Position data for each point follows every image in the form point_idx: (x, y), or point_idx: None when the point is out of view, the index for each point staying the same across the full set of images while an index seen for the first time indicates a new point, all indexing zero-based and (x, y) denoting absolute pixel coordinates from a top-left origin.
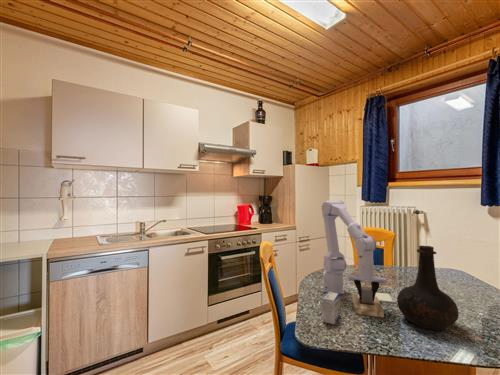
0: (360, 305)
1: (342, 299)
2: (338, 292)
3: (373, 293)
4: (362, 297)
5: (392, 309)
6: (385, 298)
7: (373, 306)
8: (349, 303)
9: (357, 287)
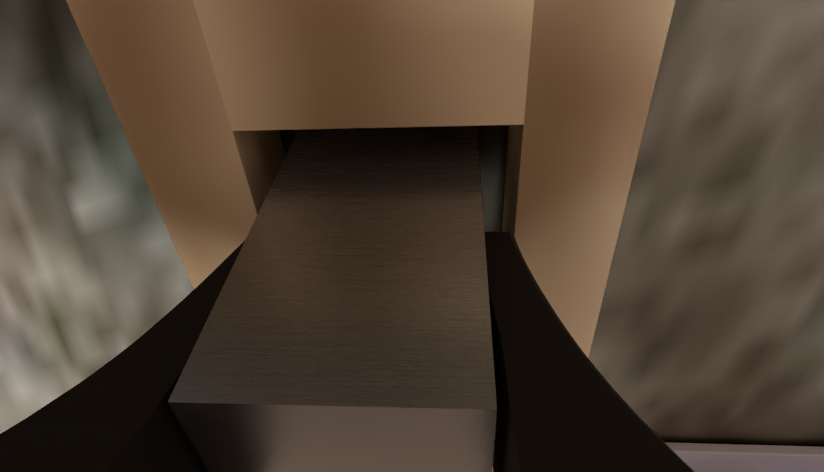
0: (532, 28)
1: (698, 332)
2: (700, 454)
3: (183, 343)
4: (468, 237)
5: (72, 231)
6: None
7: (257, 68)
8: (633, 249)
9: (659, 465)
